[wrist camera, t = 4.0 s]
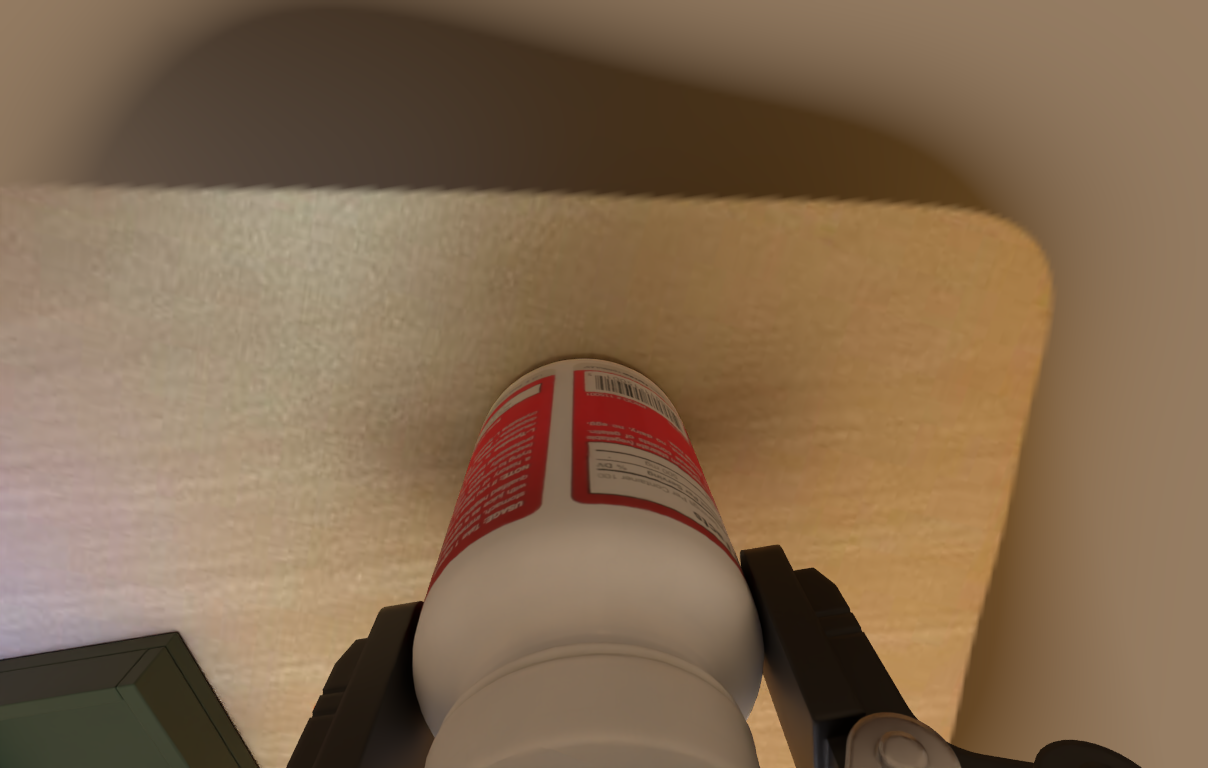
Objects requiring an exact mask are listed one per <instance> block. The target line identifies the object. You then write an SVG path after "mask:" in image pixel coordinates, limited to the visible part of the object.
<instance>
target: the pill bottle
mask: <svg viewBox="0 0 1208 768" xmlns="http://www.w3.org/2000/svg"><path fill="white" fill-rule="evenodd" d="M763 664H764V642H763V633H762V628H761V623H760V619H759V614H758V611H757V608H756V605H755V603H754V599H753V596H752V593H751V591H750V588H749V586H748V583H747V580H746V578H745V576H744V573H743V570H742V568H741V566H740V564H739V561H738V559H737V556H736V554H735V551H734V549H733V546H732V544H731V542H730V539H729V537H728V534H727V531H726V529H725V527H724V524H723V522H722V518H721V516H720V514H719V511H718V509H717V506H716V503H715V501H714V499H713V496H712V494H711V492H710V489H709V486H708V484H707V482H706V479H705V477H704V474H703V472H702V469H701V467H700V464H699V462H698V459H697V457H696V454H695V452H694V449H693V447H692V445H691V442H690V439H689V437H688V435H687V432H686V430H685V427H684V425H683V423H682V421H681V419H680V417H679V415H678V413H677V411H676V409H675V407H674V406H673V404H672V403H671V401H670V400H669V399H668V397H667V396H666V394H665V393H664V392H663V391H662V390H661V389H660V388H659V387H658V386H657V385H656V384H654V383H653V382H652V381H651V380H649V379H648V378H647V377H645V376H644V375H642V374H640V373H639V372H637V371H635V370H633V369H630V368H628V367H626V366H623V365H620V364H617V363H614V362H610V361H605V360H599V359H570V360H563V361H558V362H554V363H550V364H548V365H545V366H542V367H539V368H537V369H535V370H533V371H531V372H529V373H527V374H526V375H524V376H522V377H521V378H519V379H518V380H517V381H515V382H514V383H513V384H511V385H510V386H509V387H508V388H507V389H506V390H505V391H504V392H503V393H502V394H501V395H500V396H499V398H498V399H497V400H496V402H495V403H494V404H493V406H492V408H491V409H490V411H489V413H488V415H487V417H486V419H485V421H484V423H483V426H482V428H481V431H480V433H479V436H478V438H477V442H476V445H475V448H474V451H473V454H472V457H471V460H470V462H469V466H468V469H467V472H466V475H465V478H464V482H463V485H462V488H461V491H460V493H459V497H458V499H457V503H456V506H455V509H454V512H453V515H452V518H451V521H450V524H449V527H448V531H447V534H446V537H445V540H444V543H443V546H442V549H441V552H440V555H439V558H438V561H437V564H436V567H435V570H434V573H433V575H432V578H431V581H430V585H429V588H428V591H427V594H426V597H425V601H424V604H423V607H422V610H421V614H420V618H419V621H418V625H417V629H416V633H415V638H414V644H413V663H412V666H413V680H414V687H415V692H416V696H417V699H418V702H419V705H420V709H421V712H422V714H423V717H424V719H425V721H426V723H427V725H428V727H429V729H430V730H431V732H432V734H433V736H434V737H435V739H434V741H433V743H432V746H431V748H430V750H429V753H428V755H427V758H426V763H425V768H760V766H759V762H758V758H757V755H756V749H755V745H754V741H753V737H752V733H751V731H750V728H749V726H748V724H747V722H746V720H747V718H748V717H749V715H750V713H751V711H752V708H753V706H754V703H755V701H756V698H757V695H758V692H759V688H760V684H761V679H762V674H763Z"/></svg>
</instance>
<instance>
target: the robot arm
mask: <svg viewBox="0 0 1208 768" xmlns="http://www.w3.org/2000/svg"><path fill="white" fill-rule="evenodd" d="M740 561H741V568H742V570H743V573H744V576H745V578H746V580H747V583H748V586H749V588H750V591H751V593H752V596H753V599H754V603H755V605H756V608H757V611H758V614H759V619H760V623H761V628H762V633H763V642H764V664H763V675H764V678H765V681H766V684H767V686H768V689H769V692H770V695H771V698H772V701H773V703H774V706H775V709H776V712H777V715H778V718H779V720H780V723H781V726H782V729H783V732H784V735H785V737H786V740H787V743H788V746H789V749H790V752H791V754H792V757H793V760H794V763H795V766H796V768H1141V767H1140V766H1138V765H1137V764H1135V763H1134V762H1133V761H1131V760H1129V759H1128V758H1126V757H1124V756H1122V755H1121V754H1119V753H1117V752H1114V751H1112V750H1110V749H1108V748H1105V747H1102V746H1100V745H1097V744H1093V743H1089V742H1085V741H1078V740H1061V741H1056V742H1053V743H1050V744H1048V745H1046V746H1045V747H1043V748H1042V749H1041V750H1040V752H1039V753H1038V754H1037V756H1036V759H1035V762H1034V763H1031V762H1025V761H1019V760H1013V759H1007V758H1000V757H994V756H989V755H983V754H978V753H973V752H970V751H967V750H964V749H961V748H958V747H956V746H954V745H952V744H950V743H948V742H946V741H945V740H944V739H943V738H942V737H941V736H940V735H939V734H938V733H937V732H936V731H934V730H933V729H932V728H930V727H929V726H927V725H926V724H924V723H922V722H921V721H919V720H918V719H917V718H916V717H915V716H914V715H913V713H912V712H911V710H910V709H909V708H908V706H907V704H906V703H905V701H904V699H903V698H902V696H901V694H900V693H899V691H898V689H897V687H896V686H895V684H894V682H893V681H892V679H891V677H890V676H889V674H888V672H887V671H886V669H885V667H884V665H883V664H882V662H881V660H880V659H879V657H878V655H877V654H876V652H875V650H874V649H873V647H872V645H871V643H870V642H869V640H868V638H867V637H866V635H865V633H864V632H862V630H861V627H860V625H859V623H858V622H857V620H856V618H855V616H854V615H853V613H851V612H850V608H849V606H848V605H847V603H846V601H845V600H844V598H843V596H842V594H841V593H840V591H839V589H838V588H837V586H836V585H835V584H834V583H833V582H831V581H830V580H829V579H827V578H826V577H825V576H824V575H822V574H821V573H820V572H819V571H817V570H816V569H815V568H808V569H801V570H795V571H793V569H792V567H791V565H790V563H789V561H788V559H787V557H786V555H785V553H784V551H783V549H782V548H781V546H780V545H772V546H765V547H759V548H753V549H747V550H741V552H740ZM423 604H424V602H422V601H419V602H412V603H406V604H400V605H394V606H388V607H384V608H382V609H381V610H380V612H379V613H378V615H377V618H376V620H375V622H374V625H373V627H372V629H371V632H370V634H369V636H368V638H364V639H358V640H356V641H355V642H354V643H353V644H352V645H351V646H350V647H349V649H348V650H347V651H346V652H345V653H344V654H343V655H342V657H341V658H340V659H339V660H338V661H337V662H336V663H335V665H334V667H333V669H332V672H331V674H330V676H329V678H328V680H327V682H326V684H325V686H324V688H323V695H320V697H319V699H318V701H317V703H316V705H315V708H314V710H313V712H312V713H313V716H312V718H309V720H308V722H307V725H306V727H305V729H304V731H303V733H302V735H301V737H300V739H299V741H298V744H297V746H296V748H295V750H294V752H293V754H292V756H291V758H290V761H289V763H288V765H287V767H286V768H425V763H426V758H427V755H428V753H429V750H430V748H431V746H432V743H433V741H434V739H435V737H434V736H433V734H432V732H431V730H430V729H429V727H428V725H427V723H426V721H425V719H424V717H423V714H422V712H421V709H420V705H419V702H418V699H417V696H416V692H415V687H414V680H413V666H412V663H413V644H414V638H415V633H416V629H417V625H418V621H419V618H420V614H421V610H422V607H423Z"/></svg>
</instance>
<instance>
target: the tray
mask: <svg viewBox="0 0 1208 768" xmlns="http://www.w3.org/2000/svg"><path fill="white" fill-rule="evenodd" d="M0 768H258V767H257V765H256V764H255V762H254V760H253V759H252V757H251V755H250V754H249V752H248V750H247V749H246V747H245V745H244V744H243V742H242V740H241V739H240V737H239V735H238V734H237V732H236V730H235V729H234V727H233V725H232V724H231V722H230V720H229V719H228V717H227V715H226V714H225V712H224V710H223V709H222V707H221V705H220V704H219V702H218V700H217V698H216V697H215V695H214V693H213V692H212V690H211V688H210V687H209V685H208V683H207V682H206V680H205V678H204V677H203V675H202V673H201V672H200V670H199V668H198V667H197V665H196V663H195V662H194V660H193V658H192V657H191V655H190V653H189V652H188V650H187V648H186V647H185V645H184V643H183V642H182V640H181V638H180V637H179V635H178V633H170V634H164V635H158V636H152V637H145V638H139V639H133V640H127V641H121V642H114V643H108V644H102V645H96V646H90V647H83V648H77V649H71V650H65V651H59V652H52V653H46V654H40V655H34V656H28V657H21V658H15V659H9V660H3V661H0Z"/></svg>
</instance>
